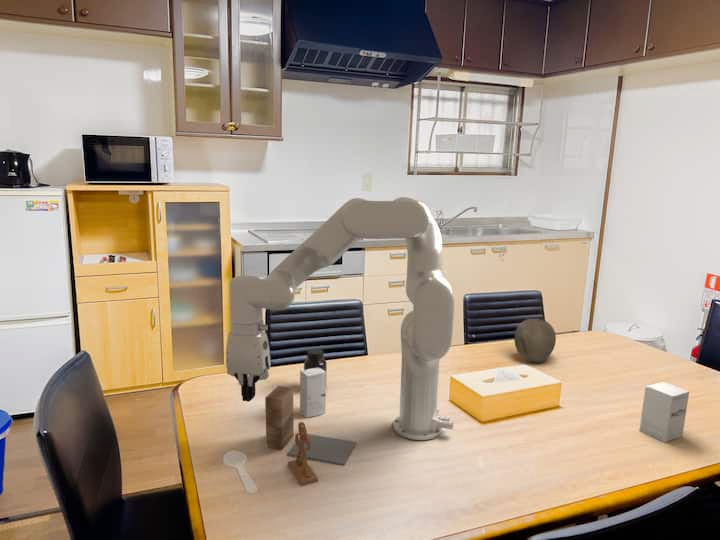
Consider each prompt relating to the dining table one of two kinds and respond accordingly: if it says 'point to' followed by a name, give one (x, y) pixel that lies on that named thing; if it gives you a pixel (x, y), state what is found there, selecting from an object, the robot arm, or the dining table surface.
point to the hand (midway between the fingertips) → (248, 399)
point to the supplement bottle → (315, 360)
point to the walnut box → (279, 417)
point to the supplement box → (664, 411)
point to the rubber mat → (326, 449)
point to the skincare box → (312, 392)
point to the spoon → (240, 468)
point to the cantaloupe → (535, 339)
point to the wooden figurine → (302, 459)
